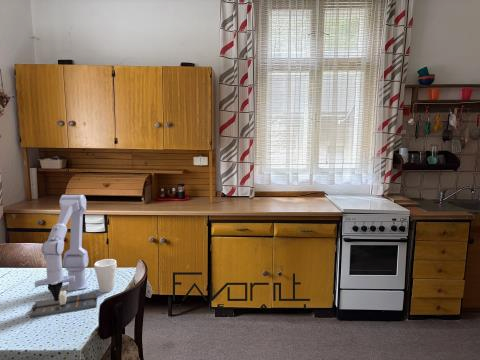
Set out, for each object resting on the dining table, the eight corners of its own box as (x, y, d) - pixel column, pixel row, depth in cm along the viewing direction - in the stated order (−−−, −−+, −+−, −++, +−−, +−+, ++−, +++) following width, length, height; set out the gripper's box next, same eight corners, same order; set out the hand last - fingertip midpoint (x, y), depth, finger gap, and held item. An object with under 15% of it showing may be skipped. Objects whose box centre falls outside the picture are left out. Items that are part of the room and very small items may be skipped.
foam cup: (94, 295, 151) (92, 267, 150) (97, 286, 160) (95, 260, 158) (116, 292, 154) (115, 265, 152) (118, 284, 163) (117, 258, 161)
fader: (61, 299, 143) (60, 290, 143) (66, 298, 144) (66, 290, 144) (59, 305, 139) (59, 296, 138) (65, 304, 139) (64, 295, 139)
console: (36, 303, 143) (35, 299, 143) (97, 294, 152) (97, 290, 152) (30, 318, 132) (29, 313, 132) (96, 307, 141) (96, 302, 140)
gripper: (32, 275, 132) (34, 307, 134) (73, 270, 138) (75, 301, 139) (35, 268, 139) (38, 299, 141) (74, 263, 144) (76, 294, 146)
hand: (56, 300), depth 140 cm, fingers closed
